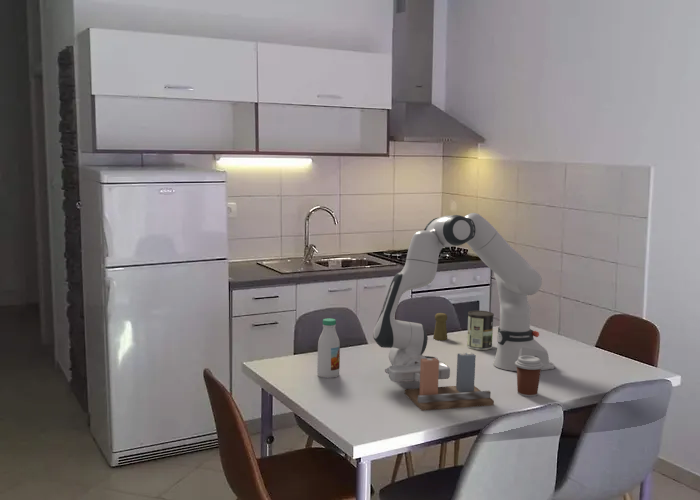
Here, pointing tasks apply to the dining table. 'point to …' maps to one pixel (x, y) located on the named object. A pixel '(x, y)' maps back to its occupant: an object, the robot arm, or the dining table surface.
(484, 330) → the coffee can
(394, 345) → the robot arm
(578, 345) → the dining table surface
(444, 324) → the pepper mill
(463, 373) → the tile two
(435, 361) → the tile one
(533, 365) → the coffee cup
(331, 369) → the milk bottle
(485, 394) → the board
